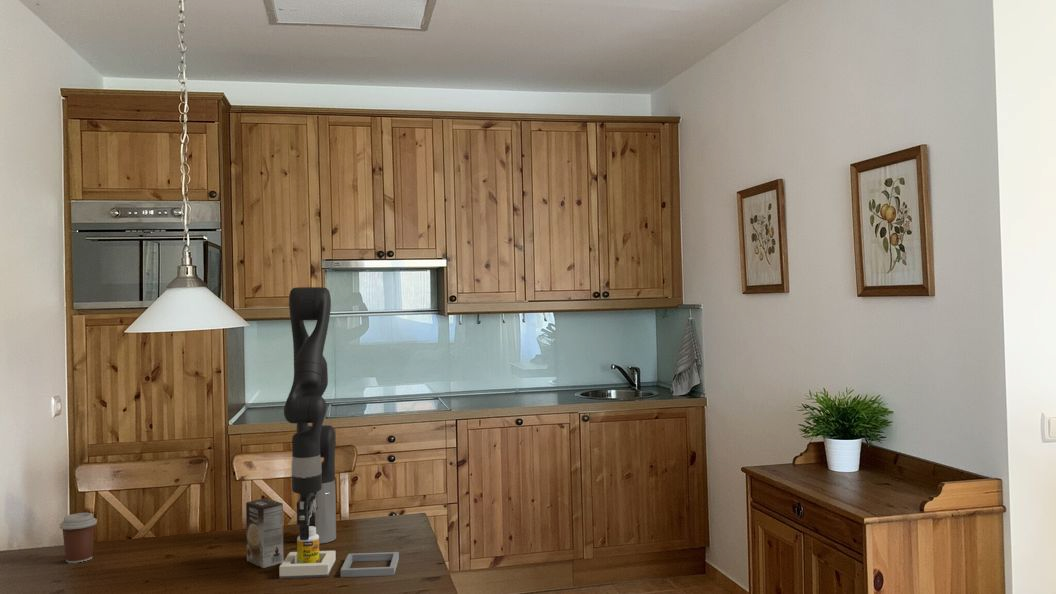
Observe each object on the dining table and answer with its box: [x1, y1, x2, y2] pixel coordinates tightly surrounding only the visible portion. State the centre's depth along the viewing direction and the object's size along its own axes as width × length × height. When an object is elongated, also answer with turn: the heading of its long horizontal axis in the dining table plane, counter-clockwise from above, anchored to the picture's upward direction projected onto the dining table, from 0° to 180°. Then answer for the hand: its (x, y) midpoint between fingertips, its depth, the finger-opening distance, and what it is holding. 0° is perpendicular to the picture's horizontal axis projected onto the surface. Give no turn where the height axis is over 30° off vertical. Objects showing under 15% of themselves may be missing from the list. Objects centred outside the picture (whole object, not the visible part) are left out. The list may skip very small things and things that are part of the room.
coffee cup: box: [59, 512, 98, 564], centre depth 226 cm, size 9×9×12 cm
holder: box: [278, 550, 337, 580], centre depth 215 cm, size 12×12×3 cm
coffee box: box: [245, 497, 284, 569], centre depth 222 cm, size 9×6×16 cm
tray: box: [340, 551, 400, 578], centre depth 216 cm, size 13×13×2 cm
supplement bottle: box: [296, 526, 320, 564], centre depth 215 cm, size 6×6×10 cm
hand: (307, 534), depth 215 cm, fingers open, 8 cm apart
